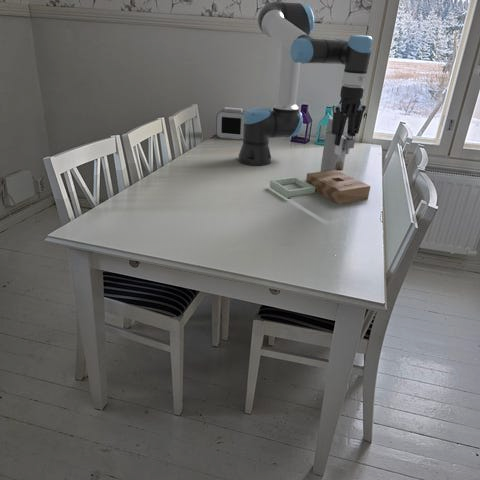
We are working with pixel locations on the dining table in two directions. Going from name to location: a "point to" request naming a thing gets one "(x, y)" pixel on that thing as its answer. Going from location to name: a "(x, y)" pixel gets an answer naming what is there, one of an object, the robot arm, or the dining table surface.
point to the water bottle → (329, 149)
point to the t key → (343, 151)
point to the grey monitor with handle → (230, 123)
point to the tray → (285, 192)
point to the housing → (338, 186)
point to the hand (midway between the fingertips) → (341, 153)
